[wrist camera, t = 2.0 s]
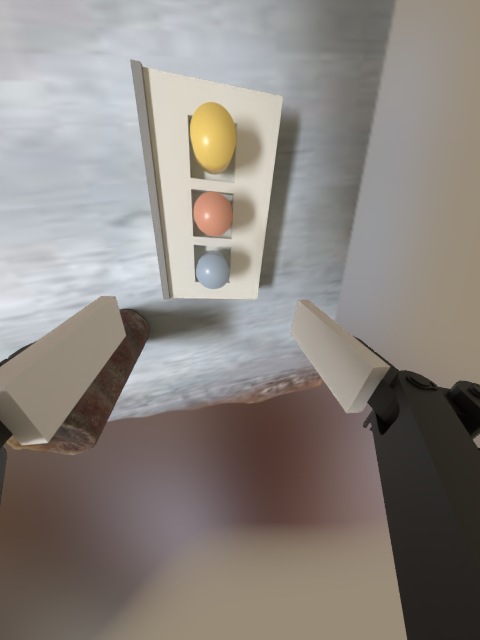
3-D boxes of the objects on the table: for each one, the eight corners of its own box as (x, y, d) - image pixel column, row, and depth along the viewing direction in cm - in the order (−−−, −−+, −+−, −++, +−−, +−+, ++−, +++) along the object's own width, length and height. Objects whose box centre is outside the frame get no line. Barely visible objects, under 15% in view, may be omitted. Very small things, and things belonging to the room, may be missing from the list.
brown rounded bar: (160, 331, 35) (111, 443, 17) (131, 349, 36) (56, 472, 18) (129, 301, 31) (26, 405, 14) (97, 322, 32) (-37, 444, 14)
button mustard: (192, 121, 18) (188, 97, 14) (232, 128, 18) (237, 106, 15) (194, 172, 20) (191, 162, 16) (230, 176, 20) (235, 167, 17)
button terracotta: (195, 194, 21) (192, 189, 17) (229, 197, 21) (233, 193, 18) (196, 232, 23) (194, 235, 19) (228, 234, 23) (231, 237, 20)
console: (149, 98, 20) (130, 59, 15) (269, 120, 22) (285, 92, 18) (170, 286, 31) (163, 299, 26) (250, 288, 33) (257, 300, 28)
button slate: (197, 249, 24) (195, 254, 20) (227, 251, 24) (230, 256, 21) (198, 279, 25) (196, 288, 22) (226, 280, 26) (229, 289, 23)
